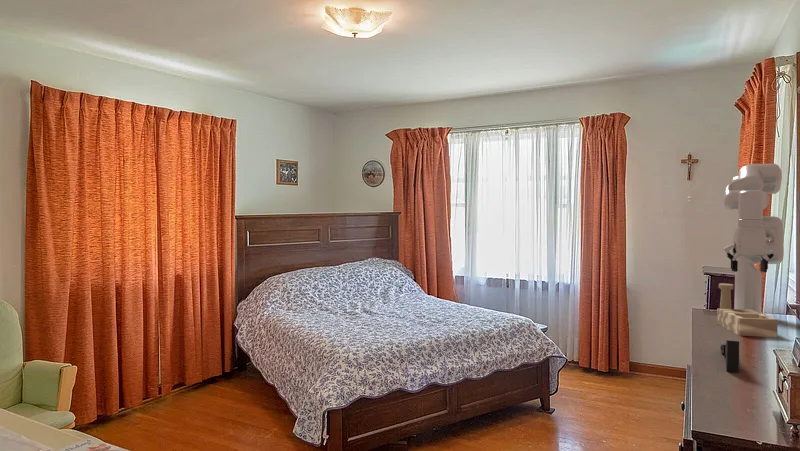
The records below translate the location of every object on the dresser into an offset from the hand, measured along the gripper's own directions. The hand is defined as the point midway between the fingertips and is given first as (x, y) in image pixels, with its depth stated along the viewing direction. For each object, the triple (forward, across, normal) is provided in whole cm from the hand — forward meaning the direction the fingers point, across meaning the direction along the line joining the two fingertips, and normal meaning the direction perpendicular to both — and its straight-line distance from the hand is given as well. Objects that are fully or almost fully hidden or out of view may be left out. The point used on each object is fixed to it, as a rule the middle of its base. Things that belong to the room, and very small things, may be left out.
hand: (749, 271), depth 198 cm
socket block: (+22, 0, -2) cm, 22 cm away
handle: (+22, +1, -16) cm, 27 cm away
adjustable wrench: (+22, +24, +45) cm, 56 cm away
